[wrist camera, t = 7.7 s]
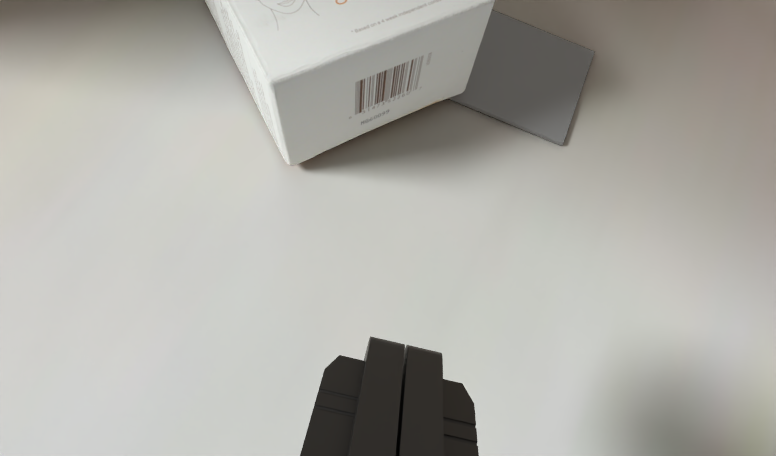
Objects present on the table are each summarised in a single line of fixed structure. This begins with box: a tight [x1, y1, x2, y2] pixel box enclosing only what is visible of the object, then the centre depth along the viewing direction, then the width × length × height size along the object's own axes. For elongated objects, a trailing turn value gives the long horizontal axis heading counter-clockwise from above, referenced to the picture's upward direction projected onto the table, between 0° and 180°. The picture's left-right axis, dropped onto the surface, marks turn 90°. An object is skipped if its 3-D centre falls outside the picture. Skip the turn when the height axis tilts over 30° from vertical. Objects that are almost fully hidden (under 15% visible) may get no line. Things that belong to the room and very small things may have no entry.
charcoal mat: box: [448, 10, 595, 146], centre depth 24 cm, size 11×5×1 cm, turn 67°
